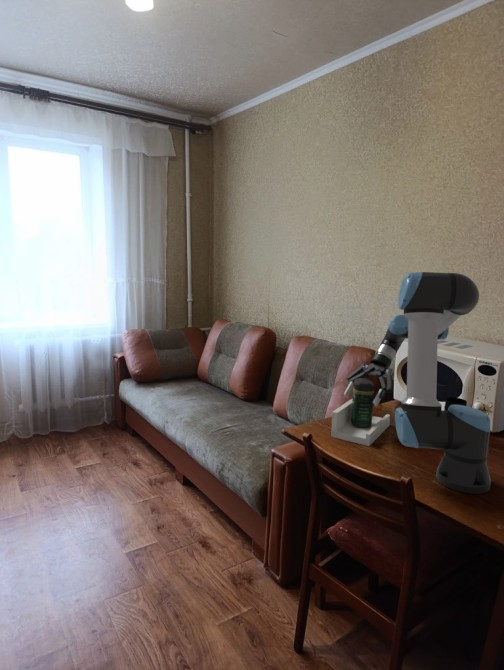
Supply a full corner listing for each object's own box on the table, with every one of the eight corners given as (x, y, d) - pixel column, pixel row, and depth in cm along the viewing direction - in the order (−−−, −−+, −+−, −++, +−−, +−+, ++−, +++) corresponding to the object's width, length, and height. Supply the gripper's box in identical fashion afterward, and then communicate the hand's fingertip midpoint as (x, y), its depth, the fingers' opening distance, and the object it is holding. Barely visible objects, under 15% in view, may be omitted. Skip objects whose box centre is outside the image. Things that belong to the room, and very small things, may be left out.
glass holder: (448, 431, 175) (451, 395, 173) (483, 443, 164) (487, 405, 161) (435, 435, 170) (439, 399, 167) (471, 448, 159) (476, 409, 156)
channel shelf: (369, 446, 159) (370, 420, 157) (330, 436, 167) (332, 411, 165) (389, 425, 180) (391, 402, 179) (354, 417, 188) (356, 395, 187)
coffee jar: (373, 429, 168) (376, 383, 165) (352, 428, 169) (355, 382, 166) (369, 420, 178) (372, 377, 175) (349, 419, 179) (352, 376, 176)
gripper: (414, 369, 171) (391, 413, 163) (360, 358, 189) (337, 397, 182) (408, 357, 167) (384, 402, 159) (354, 347, 185) (330, 387, 177)
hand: (359, 400), depth 170 cm, fingers open, 13 cm apart
